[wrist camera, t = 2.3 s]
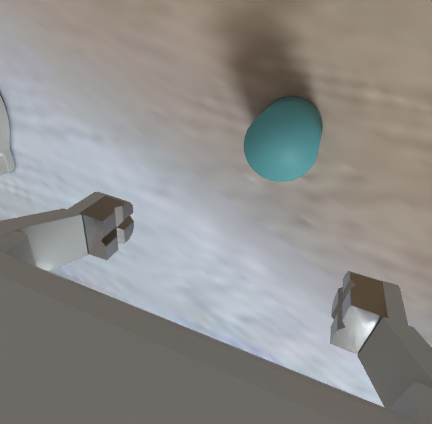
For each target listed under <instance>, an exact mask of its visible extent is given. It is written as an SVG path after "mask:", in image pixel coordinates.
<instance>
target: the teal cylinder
mask: <svg viewBox="0 0 432 424" xmlns="http://www.w3.org/2000/svg"><path fill="white" fill-rule="evenodd" d="M321 134H322V119H321V115H320V113H319V111H318V110H317V108H316V107H315V106H314V105H313V104H312V103H311V102H309V101H308V100H306V99H304V98H301V97H296V96H288V97H283V98H280V99H278V100H276V101H274V102H273V103H272V104H270V105H269V106H268V107H267V108H266V109H265V110H264V111H263V112H262V113H261V114H260V115H259V116H258V117H257V118H256V119H255V120H254V121H253V123H252V124H251V125H250V127H249V128H248V130H247V132H246V135H245V139H244V152H245V156H246V159H247V161H248V163H249V165H250V166H251V167H252V169H253V170H254V171H255V172H256V173H258V174H259V175H260V176H262V177H264V178H266V179H268V180H272V181H277V182H285V181H291V180H294V179H297V178H299V177H301V176H302V175H304V174H305V173H306V172H307V171H308V170H309V169H310V168H311V167H312V165H313V163H314V162H315V159H316V157H317V153H318V149H319V144H320V139H321Z"/></svg>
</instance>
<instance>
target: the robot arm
mask: <svg viewBox="0 0 432 424" xmlns="http://www.w3.org/2000/svg"><path fill="white" fill-rule="evenodd" d="M14 170H15V163H14V159H13V156H12V153H11V150H10V126H9V120H8V115H7V112H6V108H5V106H4V103H3V100H2V98H1V96H0V175H1V174H6V173H9V172H12V171H14ZM132 213H133V205H132V204H131V203H130V202H128V201H125V200H122V199H119V198H116V197H113V196H110V195H107V194H104V193H100V192H94V193H93V194H91V195H89V196H88V197H86V198H85V199H83V200H81V201H80V202H78V203H77V204H75V205H73V206H72V207H70V208H69V209H67V210H66V209H59V210H54V211H49V212H44V213H39V214H33V215H28V216H23V217H18V218H13V219H8V220H3V221H0V424H432V348H431V346H430V345H429V344H428V343H427V342H426V341H425V340H424V339H423V337H422V336H421V335H420V334H419V333H418V332H417V331H416V330H415V329H414V327H411V326H408V323H407V318H406V314H405V309H404V305H403V300H402V296H401V291H400V287H399V286H398V285H395V284H392V283H388V282H385V281H379V280H376V279H373V278H370V277H366V276H363V275H360V274H357V273H353V272H350V271H347V273H346V274H345V276H344V278H343V287H341V288H339V289H338V291H337V293H336V295H335V298H334V301H333V305H332V315H331V316H332V317H333V319H334V321H333V323H332V325H331V336H330V344H333V345H335V346H338V347H340V348H343V349H345V350H348V351H350V352H353V353H355V354H358V358H359V359H360V361H361V363H362V365H363V367H364V369H365V371H366V373H367V375H368V377H369V378H370V380H371V382H372V384H373V386H374V388H375V390H376V392H377V394H378V395H379V397H380V399H381V401H382V403H383V405H384V407H385V408H384V407H382V406H379V405H377V404H374V403H372V402H369V401H367V400H364V399H362V398H359V397H357V396H354V395H352V394H349V393H347V392H345V391H342V390H340V389H337V388H335V387H332V386H330V385H327V384H325V383H322V382H320V381H317V380H315V379H313V378H310V377H308V376H305V375H303V374H300V373H298V372H295V371H293V370H290V369H288V368H285V367H283V366H280V365H278V364H276V363H273V362H271V361H268V360H266V359H263V358H261V357H258V356H256V355H253V354H251V353H248V352H246V351H243V350H241V349H239V348H236V347H234V346H231V345H229V344H226V343H224V342H221V341H219V340H216V339H214V338H211V337H209V336H207V335H204V334H202V333H199V332H197V331H194V330H192V329H189V328H187V327H184V326H182V325H179V324H177V323H175V322H172V321H170V320H167V319H165V318H162V317H160V316H157V315H155V314H152V313H150V312H147V311H145V310H143V309H140V308H138V307H135V306H133V305H130V304H128V303H125V302H123V301H120V300H118V299H115V298H113V297H110V296H108V295H105V294H103V293H100V292H98V291H96V290H93V289H91V288H88V287H86V286H83V285H81V284H78V283H76V282H73V281H71V280H68V279H66V278H63V277H61V276H59V275H56V274H54V273H51V272H49V271H50V270H52V269H55V268H57V267H60V266H62V265H64V264H67V263H69V262H72V261H74V260H77V259H79V258H81V257H84V256H86V255H88V254H90V255H93V256H96V257H99V258H102V259H105V260H108V259H109V258H110V257H111V256H112V255H113V254H114V253H115V252H116V251H117V250H118V245H121V244H124V243H126V242H127V241H128V240H129V239H130V237H131V235H132V233H133V228H134V221H133V220H132V218H131V216H130V215H131V214H132Z"/></svg>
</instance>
